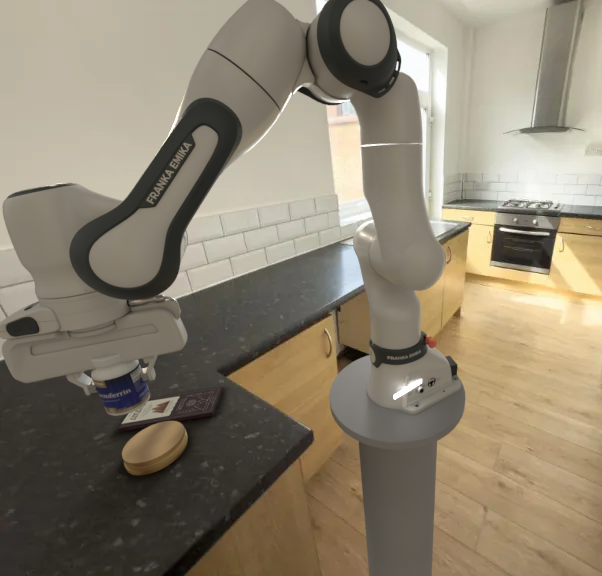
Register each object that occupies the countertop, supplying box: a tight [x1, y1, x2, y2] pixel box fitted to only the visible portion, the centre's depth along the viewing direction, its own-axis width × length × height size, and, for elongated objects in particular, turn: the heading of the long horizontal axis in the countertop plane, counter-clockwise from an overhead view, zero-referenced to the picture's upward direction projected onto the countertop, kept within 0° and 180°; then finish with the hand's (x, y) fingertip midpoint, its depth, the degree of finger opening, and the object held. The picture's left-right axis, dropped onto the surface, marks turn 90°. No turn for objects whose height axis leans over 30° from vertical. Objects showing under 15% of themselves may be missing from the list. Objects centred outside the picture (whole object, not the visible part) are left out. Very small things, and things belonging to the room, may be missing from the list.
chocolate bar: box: [117, 385, 224, 433], centre depth 71 cm, size 9×1×18 cm
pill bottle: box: [90, 355, 151, 417], centre depth 49 cm, size 6×6×10 cm
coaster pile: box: [121, 421, 189, 476], centre depth 60 cm, size 10×10×3 cm
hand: (122, 385), depth 50 cm, fingers closed on pill bottle, 6 cm apart
